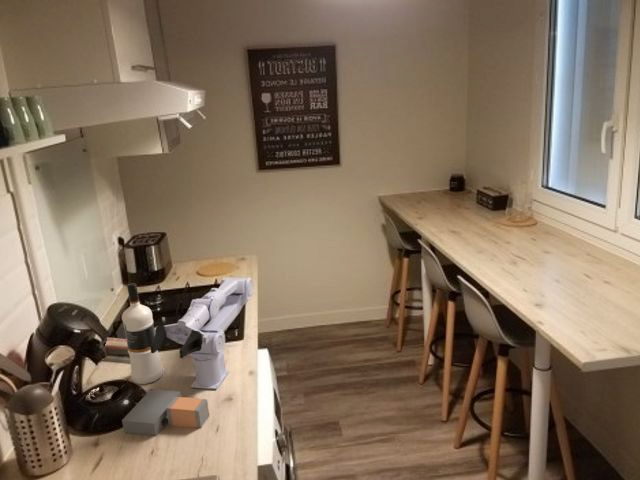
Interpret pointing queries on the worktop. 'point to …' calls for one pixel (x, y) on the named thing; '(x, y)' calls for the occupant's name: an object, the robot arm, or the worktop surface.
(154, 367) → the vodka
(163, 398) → the stand
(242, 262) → the worktop surface
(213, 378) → the robot arm
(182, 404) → the block
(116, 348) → the packaged product
